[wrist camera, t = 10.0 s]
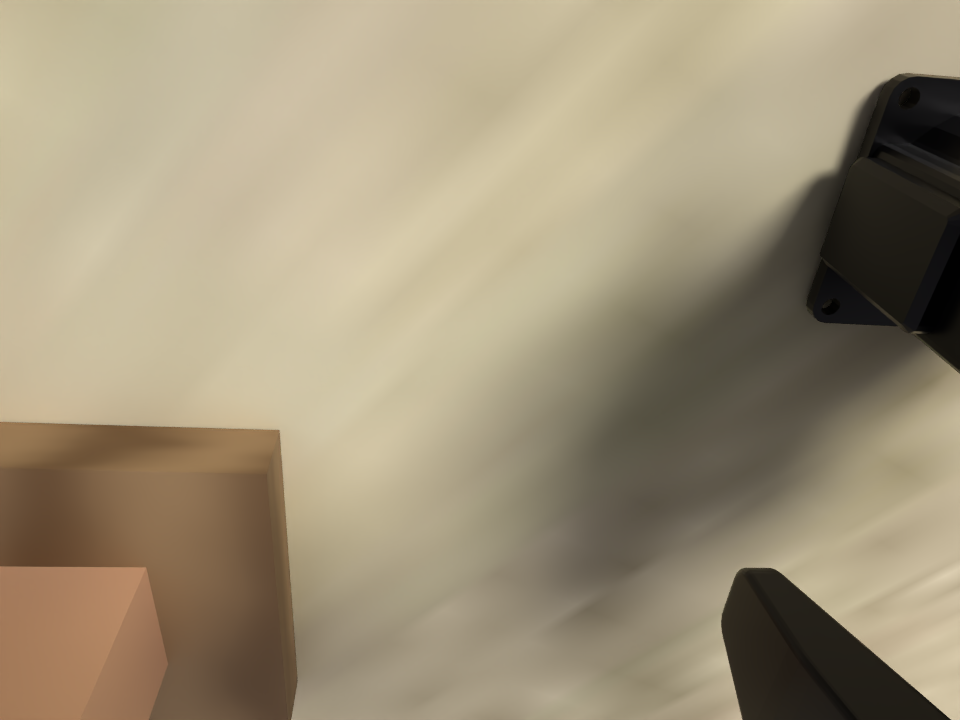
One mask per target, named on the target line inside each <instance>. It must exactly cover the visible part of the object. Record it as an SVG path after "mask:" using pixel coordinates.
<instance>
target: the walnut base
mask: <svg viewBox="0 0 960 720" xmlns="http://www.w3.org/2000/svg"><path fill="white" fill-rule="evenodd" d="M0 566H3V567H146V569H147V573H148V577H149V582H150V586H151V591H152V595H153V600H154V604H155V608H156V613H157V617H158V622H159V626H160V630H161V635H162V639H163V644H164V648H165V653H166V657H167V661H168V666H167V669H166V672H165V675H164V677H163V680H162V683H161V686H160V689H159V692H158V695H157V698H156V700H155V703H154V706H153V709H152V712H151V715H150V718H149V720H291V717H292V711H293V705H294V699H295V693H296V687H297V667H296V653H295V640H294V626H293V612H292V598H291V584H290V571H289V557H288V543H287V529H286V516H285V502H284V488H283V474H282V460H281V447H280V433H279V430H248V429H214V428H180V427H146V426H112V425H78V424H44V423H9V422H0Z"/></svg>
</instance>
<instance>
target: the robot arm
mask: <svg viewBox="0 0 960 720" xmlns="http://www.w3.org/2000/svg"><path fill="white" fill-rule="evenodd" d="M907 88H910V90H911V91H910V97H909V98H908V100H907V101H906V102H905V103H904V104H902V105H900V106H899V104H898V102H899V97H900V95H901V94H902V92H903V91H905V90H906V89H907ZM820 256H821V257H822V259H821V262H820V264H819V267H818V270H817V273H816V276H815V279H814V281H813V284H812V287H811V290H810V293H809V295H808V298H807V304H806V306H807V309H808V311H809V312H810V313H811V314H812V315H813V316H814V317H815V318H816V319H817V320H818V321H820V322H824V323H841V324H862V325H883V326H899V327H900V328H901V329H902V330H903V331H905V332H907V333H912V334H913V335H915V336H916V337H917V338H918V339H919V340H921V341H922V342H923V343H924V344H925V345H926V346H928V347H929V348H930V349H931V350H932V351H934V352H935V353H936V354H937V355H938V356H939V357H941V358H942V359H943V360H944V361H945V362H947V363H948V364H949V365H950V366H951V367H953V368H954V369H955V370H956V371H957V372H958V373H960V77H948V76H936V75H924V74H912V73H905V74H899V75H897V76H895V77H893V78H892V79H891V80H890V81H889V82H888V83H887V84H886V85H885V86H884V88H883V89H882V91H881V93H880V96H879V98H878V101H877V104H876V107H875V110H874V113H873V115H872V118H871V121H870V124H869V127H868V129H867V132H866V135H865V138H864V141H863V143H862V146H861V149H860V152H859V155H858V158H857V160H856V162H855V163H854V164H853V165H852V166H851V167H850V170H849V173H848V175H847V178H846V181H845V184H844V187H843V190H842V192H841V195H840V198H839V201H838V204H837V207H836V210H835V212H834V215H833V218H832V221H831V224H830V227H829V229H828V232H827V235H826V238H825V241H824V244H823V246H822V249H821V252H820ZM829 299H833V301H832V303H831V304H830V305H829V306H827V307H826V308H822V306H823V304H824V303H825V302H826V301H827V300H829ZM721 627H722V634H723V639H724V643H725V647H726V652H727V656H728V660H729V664H730V669H731V673H732V677H733V681H734V686H735V690H736V694H737V698H738V703H739V707H740V711H741V715H742V720H951V719H950V718H948V717H947V716H946V715H945V714H944V713H943V712H941V711H940V710H939V709H938V708H937V707H936V706H934V705H933V704H932V703H931V702H930V701H929V700H927V699H926V698H925V697H924V696H923V695H922V694H921V693H919V692H918V691H917V690H916V689H915V688H914V687H912V686H911V685H910V684H909V683H908V682H907V681H905V680H904V679H903V678H902V677H901V676H900V675H898V674H897V673H896V672H895V671H894V670H893V669H892V668H890V667H889V666H888V665H887V664H886V663H885V662H883V661H882V660H881V659H880V658H879V657H878V656H876V655H875V654H874V653H873V652H872V651H871V650H869V649H868V648H867V647H866V646H865V645H864V644H863V643H861V642H860V641H859V640H858V639H857V638H856V637H854V636H853V635H852V634H851V633H850V632H849V631H847V630H846V629H845V628H844V627H843V626H842V625H840V624H839V623H838V622H837V621H836V620H835V619H834V618H832V617H831V616H830V615H829V614H828V613H827V612H825V611H824V610H823V609H822V608H821V607H820V606H818V605H817V604H816V603H815V602H814V601H813V600H811V599H810V598H809V597H808V596H807V595H806V594H805V593H803V592H802V591H801V590H800V589H799V588H798V587H796V586H795V585H794V584H793V583H792V582H791V581H789V580H788V579H787V578H786V577H785V576H784V575H782V574H781V573H780V572H778V571H777V570H775V569H772V568H743V569H741V570H739V571H738V572H737V574H736V576H735V578H734V581H733V584H732V587H731V590H730V592H729V595H728V598H727V601H726V604H725V607H724V610H723V613H722V620H721Z"/></svg>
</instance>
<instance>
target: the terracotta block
mask: <svg viewBox="0 0 960 720" xmlns="http://www.w3.org/2000/svg"><path fill="white" fill-rule="evenodd" d="M167 666H168V661H167V657H166V653H165V648H164V644H163V639H162V635H161V630H160V626H159V622H158V617H157V613H156V608H155V604H154V600H153V595H152V591H151V586H150V582H149V577H148V573H147V569H146V567H3V566H0V720H149V718H150V715H151V712H152V709H153V706H154V703H155V700H156V698H157V695H158V692H159V689H160V686H161V683H162V680H163V677H164V675H165V672H166V669H167Z"/></svg>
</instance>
